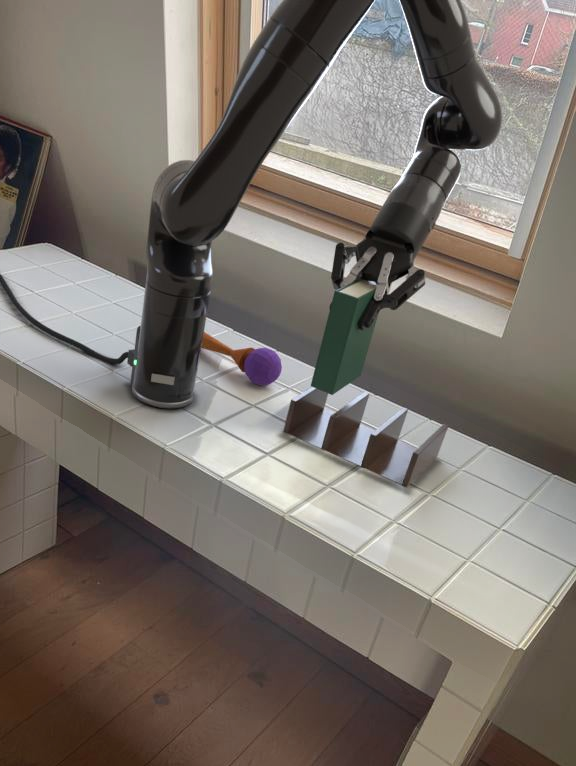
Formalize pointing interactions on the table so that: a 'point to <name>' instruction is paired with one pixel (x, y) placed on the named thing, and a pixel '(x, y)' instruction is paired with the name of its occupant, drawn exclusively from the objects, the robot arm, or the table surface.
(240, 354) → the kendama
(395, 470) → the rack
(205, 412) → the table surface
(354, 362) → the book
